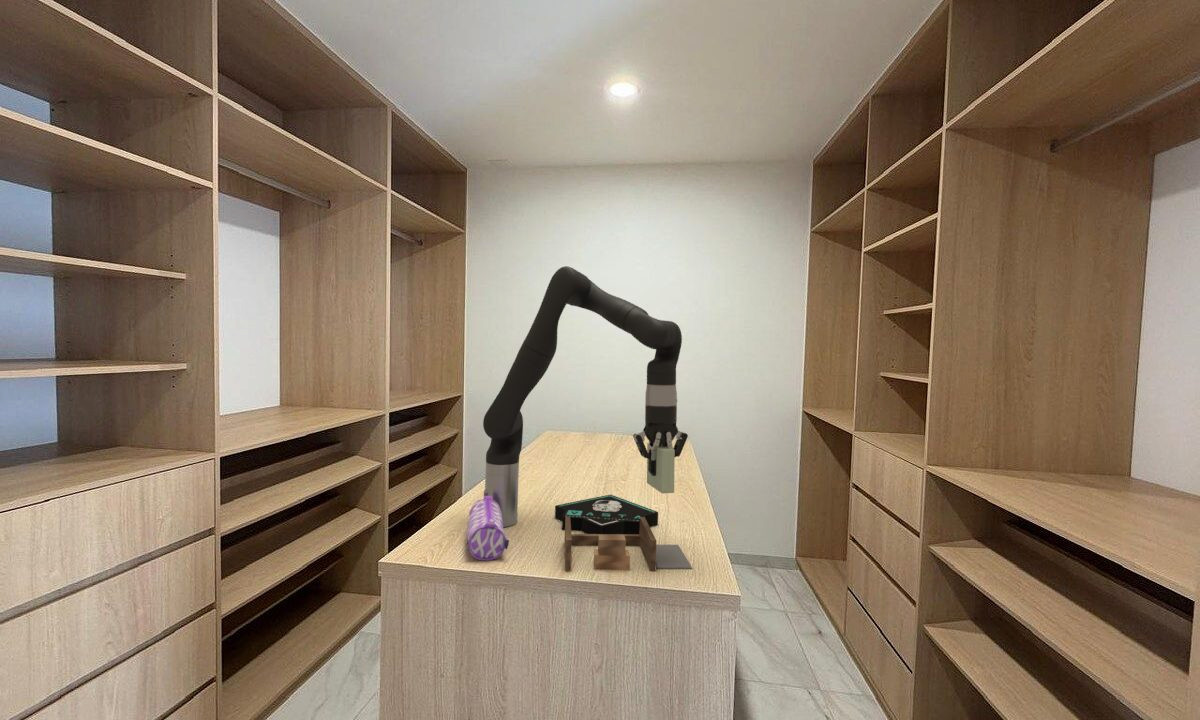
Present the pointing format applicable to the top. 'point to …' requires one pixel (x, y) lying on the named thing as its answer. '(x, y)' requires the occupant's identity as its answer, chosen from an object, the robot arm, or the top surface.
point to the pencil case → (486, 530)
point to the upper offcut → (611, 545)
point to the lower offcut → (611, 561)
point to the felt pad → (671, 557)
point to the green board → (663, 470)
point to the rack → (642, 539)
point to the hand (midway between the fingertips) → (660, 474)
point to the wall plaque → (605, 515)
